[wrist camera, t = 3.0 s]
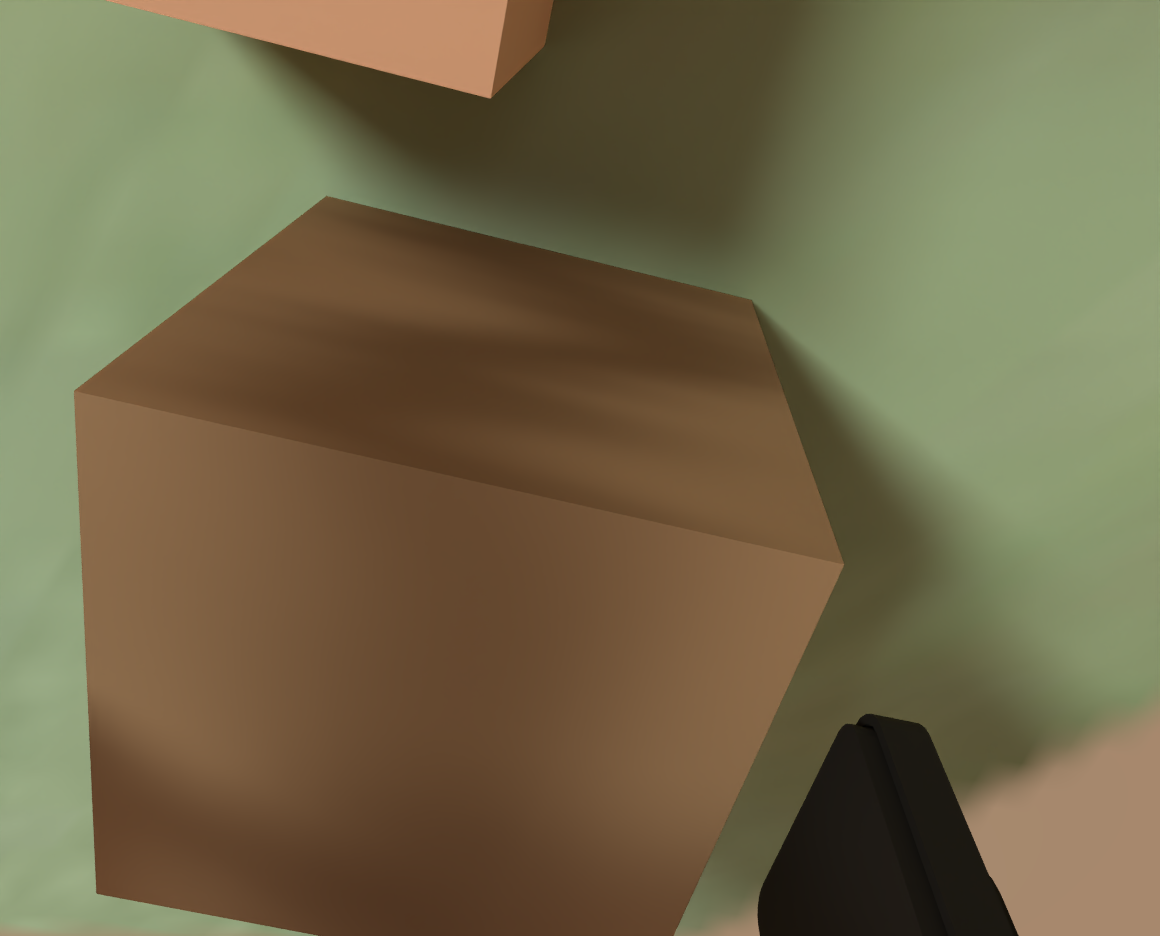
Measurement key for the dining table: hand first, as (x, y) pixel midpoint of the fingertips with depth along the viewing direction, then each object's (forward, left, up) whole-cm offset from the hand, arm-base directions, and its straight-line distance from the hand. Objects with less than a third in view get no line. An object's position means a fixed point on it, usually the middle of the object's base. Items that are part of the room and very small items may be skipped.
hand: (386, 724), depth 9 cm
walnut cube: (0, -1, -6) cm, 6 cm away
